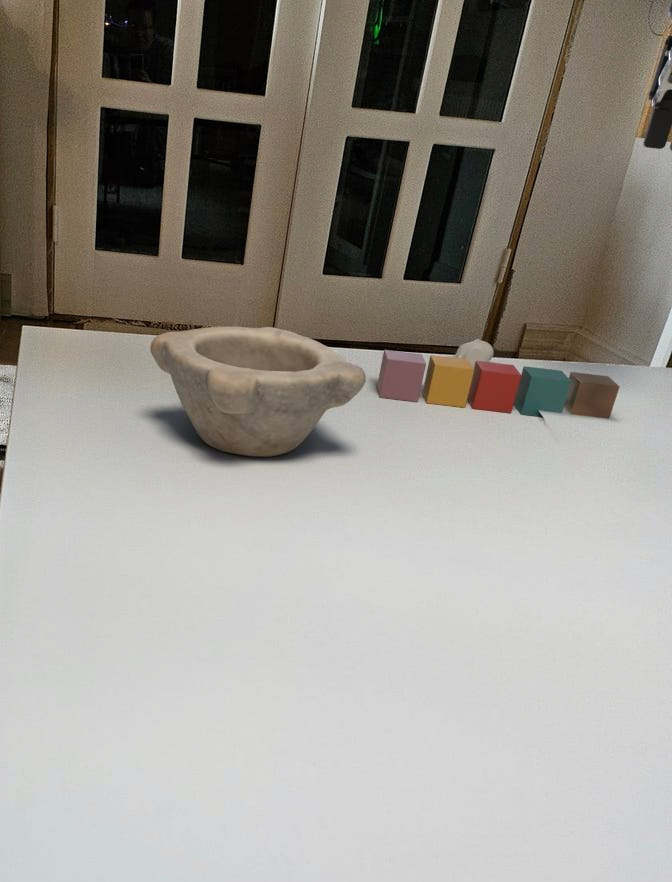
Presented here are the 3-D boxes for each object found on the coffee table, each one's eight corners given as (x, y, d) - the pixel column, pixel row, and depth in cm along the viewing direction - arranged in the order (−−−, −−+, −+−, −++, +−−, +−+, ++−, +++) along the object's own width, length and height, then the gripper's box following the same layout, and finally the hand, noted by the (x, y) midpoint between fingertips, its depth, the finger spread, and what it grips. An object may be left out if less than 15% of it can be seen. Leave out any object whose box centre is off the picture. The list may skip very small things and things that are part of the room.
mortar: (205, 480, 82) (217, 376, 77) (134, 417, 95) (140, 324, 90) (365, 467, 89) (384, 371, 84) (278, 410, 102) (291, 323, 97)
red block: (503, 402, 113) (513, 364, 111) (511, 413, 109) (521, 374, 107) (466, 397, 113) (475, 360, 111) (472, 408, 110) (482, 370, 107)
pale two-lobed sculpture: (457, 370, 129) (496, 365, 127) (448, 382, 123) (489, 377, 121) (454, 338, 128) (494, 332, 126) (446, 348, 121) (487, 342, 119)
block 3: (550, 407, 113) (561, 370, 111) (559, 419, 109) (571, 380, 107) (513, 403, 113) (523, 365, 111) (521, 414, 109) (531, 376, 107)
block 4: (596, 413, 113) (608, 376, 111) (607, 424, 109) (620, 386, 107) (559, 408, 113) (570, 371, 111) (568, 420, 109) (580, 381, 107)
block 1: (413, 391, 114) (421, 354, 111) (417, 402, 110) (426, 363, 108) (376, 387, 114) (384, 349, 112) (379, 397, 110) (387, 358, 108)
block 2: (459, 397, 113) (468, 359, 111) (465, 407, 110) (474, 369, 107) (422, 392, 114) (430, 355, 111) (426, 403, 110) (435, 364, 107)
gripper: (797, -43, 85) (728, 158, 93) (734, -26, 97) (678, 150, 105) (713, -51, 85) (652, 150, 93) (661, -34, 97) (611, 143, 105)
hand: (666, 150), depth 99 cm, fingers open, 8 cm apart
